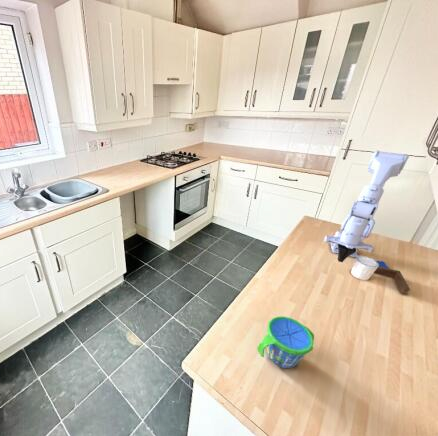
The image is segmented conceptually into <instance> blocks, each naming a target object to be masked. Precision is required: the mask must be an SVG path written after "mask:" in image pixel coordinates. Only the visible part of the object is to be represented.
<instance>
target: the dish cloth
mask: <svg viewBox="0 0 438 436" xmlns="http://www.w3.org/2000/svg"><path fill="white" fill-rule="evenodd" d="M374 260H375V259H374ZM375 261H376V262H378V264H379V266H380V267H384V268H389V267H388V265H387V264H386V263H385V261H382V260H375Z"/></svg>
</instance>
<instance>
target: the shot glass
mask: <svg viewBox="0 0 438 436" xmlns="http://www.w3.org/2000/svg"><path fill="white" fill-rule="evenodd" d="M376 261H377V260H376ZM376 261H375V259H373V258H372V257H368V256H366V255H365V256H364V255H358V257H356V258H355V260H354V263H353V265H352V268H351V275H352V276H353V277H355V278H357V279H359V280H362V281H368V280H370V278H371V277H372V276H373V274H375V273H374V272H375V270H376V269H377V268H378V266H379V264H378V262H376Z"/></svg>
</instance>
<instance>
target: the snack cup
mask: <svg viewBox="0 0 438 436" xmlns="http://www.w3.org/2000/svg"><path fill="white" fill-rule="evenodd" d="M267 323H268V324H267V329H266V331H267V334H266V335H265V336H264V337H263V338H262V340H261V341H260V343H258V344H257V347H256V349H257V352H258V354H259V355H260V357H262V358H265V349H266V352H267V355H268V358H269V359H270V360H271V361H272V362H273V363H274V364H275V365H277V366H279V367H280V368H283V369H291V368H294V367H295V366H296V365H297V364H298V363H299V362H300V361H301V360H302V359H303V358H304V357H305V356H306V355H307V354H309V353H310V352H311V351H313V349H314V340H315V334H314V333H313V331H312V330H311V329H310V328H309V327H307V326H305V325H304V324H302V323H301V322H300V321H298V320H296V319H294V318H291V317H288V316H284V315H280V316H279V315H278V316H274V317H272V318H271V319H269V321H268V322H267Z"/></svg>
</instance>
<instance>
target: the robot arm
mask: <svg viewBox="0 0 438 436" xmlns="http://www.w3.org/2000/svg"><path fill="white" fill-rule="evenodd" d="M409 158H410V155H409V154H407V153H406V154H404V153H396V152H389V151H379V150H376V151H374V152H373V153H372V156H371V159H370V161H369V163H368V168H367V170H368V172H369V173H370V174H372V177H371V180H370V183H369V184H366V185H364V186H363V188H362V190H361V192H360V193H359V196H358V198H357V200H356V201H354V202H353V204H352V206H351V207H350V210H349V214H347V215H346V216H345V218H344V220H343V222H342V223H341V226H340V231H339V230H338V231H335V233H334V235H333V236H331V235H330V236H329V235H325V237H324V243H327V244H328V243H329V244H330V248H331V252H332V253H333V254H338V255H337V262H338V263H343V262H344V261H345V260H346V259H347V258H349V257H351V258H355V259H356V257H358V256H359V255H358V250H359V249H360V250H363V251H367V252H369V253H371V252H372V251H373V250H374V246H373V244H369V243H365V242H363V241H364V239H368V238H369V237H370V235H371V233H372V231H373V229H374V227H375V224H376V220H375V219H374V218H373V217H374V216H375V214H376V213H377V210H378V207H379V204H380V201H381V198H382V197H383V194H384V192H385V190H384V187H385V184H386V183H387V181H388V180H390V178H393V177H398V176H399V175H400V174H401V173H402V171H403V170H404V167H405V166H406V164H407V162H408V159H409Z"/></svg>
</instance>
